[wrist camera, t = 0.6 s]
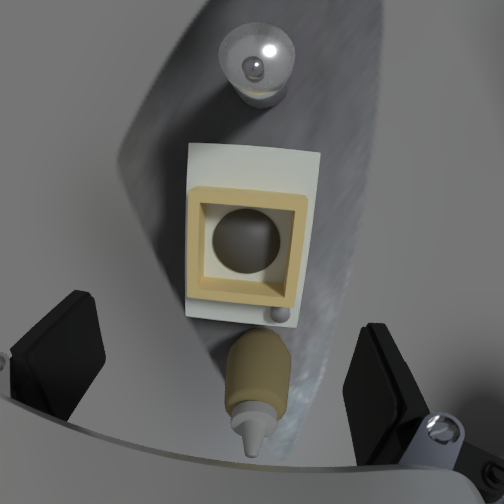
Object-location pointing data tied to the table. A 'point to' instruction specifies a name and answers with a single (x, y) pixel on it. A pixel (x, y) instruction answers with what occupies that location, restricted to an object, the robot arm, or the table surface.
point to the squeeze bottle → (257, 386)
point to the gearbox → (248, 232)
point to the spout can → (258, 63)
